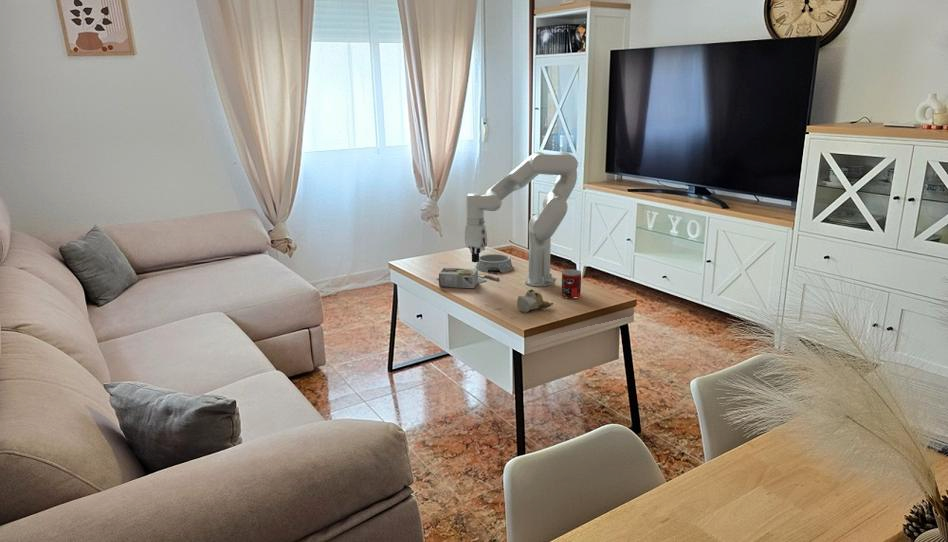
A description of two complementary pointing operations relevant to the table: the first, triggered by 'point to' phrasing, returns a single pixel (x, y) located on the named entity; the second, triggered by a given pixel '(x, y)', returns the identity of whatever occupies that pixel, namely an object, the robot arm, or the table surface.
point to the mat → (478, 280)
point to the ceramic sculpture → (531, 301)
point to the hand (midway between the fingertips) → (475, 261)
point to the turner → (487, 276)
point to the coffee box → (458, 278)
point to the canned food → (571, 283)
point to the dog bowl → (494, 263)
